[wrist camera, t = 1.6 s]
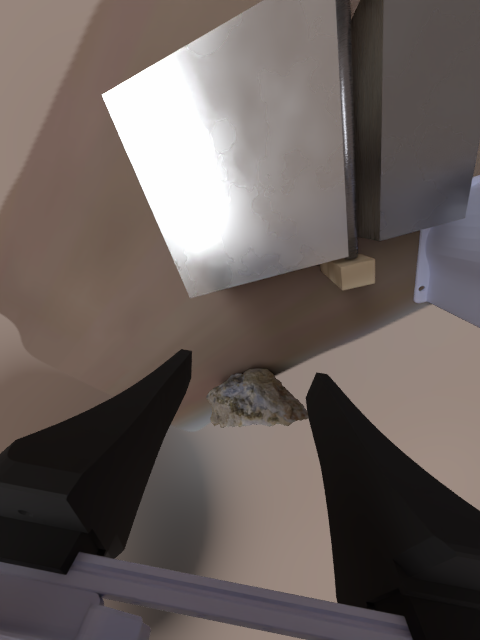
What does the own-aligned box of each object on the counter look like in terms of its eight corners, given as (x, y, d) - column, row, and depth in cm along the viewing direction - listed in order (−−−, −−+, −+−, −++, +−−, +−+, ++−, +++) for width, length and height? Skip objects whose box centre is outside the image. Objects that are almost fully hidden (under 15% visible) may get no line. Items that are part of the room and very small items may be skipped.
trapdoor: (411, 227, 15) (462, 230, 11) (204, 284, 19) (190, 301, 15) (432, -25, 10) (538, -178, 6) (142, 123, 14) (96, 87, 10)
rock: (315, 434, 16) (302, 417, 25) (304, 361, 18) (296, 370, 27) (188, 434, 18) (219, 418, 27) (191, 367, 20) (219, 374, 29)
